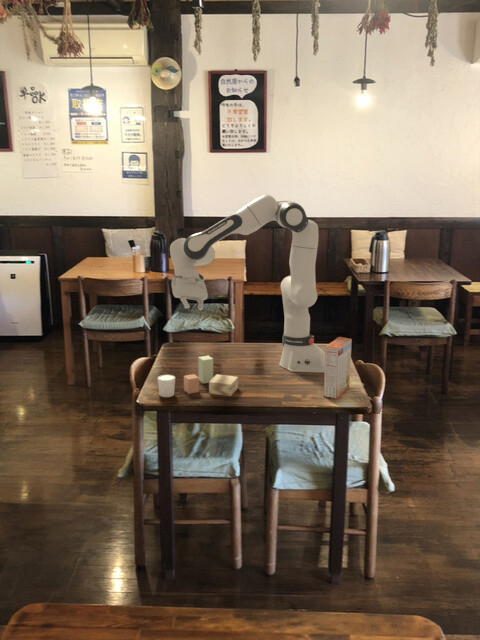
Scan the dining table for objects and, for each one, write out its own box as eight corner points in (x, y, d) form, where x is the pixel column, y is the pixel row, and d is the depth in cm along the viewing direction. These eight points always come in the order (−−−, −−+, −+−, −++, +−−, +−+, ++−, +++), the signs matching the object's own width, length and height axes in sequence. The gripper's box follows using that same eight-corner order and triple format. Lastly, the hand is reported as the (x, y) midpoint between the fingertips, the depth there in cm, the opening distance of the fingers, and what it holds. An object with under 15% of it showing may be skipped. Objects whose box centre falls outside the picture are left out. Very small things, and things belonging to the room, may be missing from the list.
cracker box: (335, 385, 250) (338, 336, 245) (349, 388, 247) (353, 338, 242) (322, 396, 239) (324, 345, 233) (336, 399, 236) (339, 347, 230)
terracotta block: (194, 388, 246) (194, 374, 244) (199, 392, 242) (198, 377, 240) (183, 390, 243) (183, 375, 242) (188, 394, 240) (188, 379, 238)
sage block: (208, 378, 256) (208, 355, 253) (213, 381, 252) (213, 358, 250) (198, 380, 254) (198, 357, 251) (203, 383, 250) (203, 360, 248)
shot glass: (172, 398, 235) (172, 381, 233) (155, 396, 236) (154, 379, 234) (177, 391, 242) (177, 375, 240) (161, 390, 243) (160, 373, 241)
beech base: (237, 388, 246) (238, 376, 245) (230, 396, 238) (231, 384, 237) (216, 385, 249) (216, 374, 247) (208, 393, 240) (208, 381, 239)
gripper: (177, 271, 244) (185, 304, 241) (206, 277, 262) (214, 307, 259) (165, 277, 247) (172, 309, 244) (194, 282, 265) (202, 312, 262)
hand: (194, 308), depth 252 cm, fingers open, 8 cm apart
